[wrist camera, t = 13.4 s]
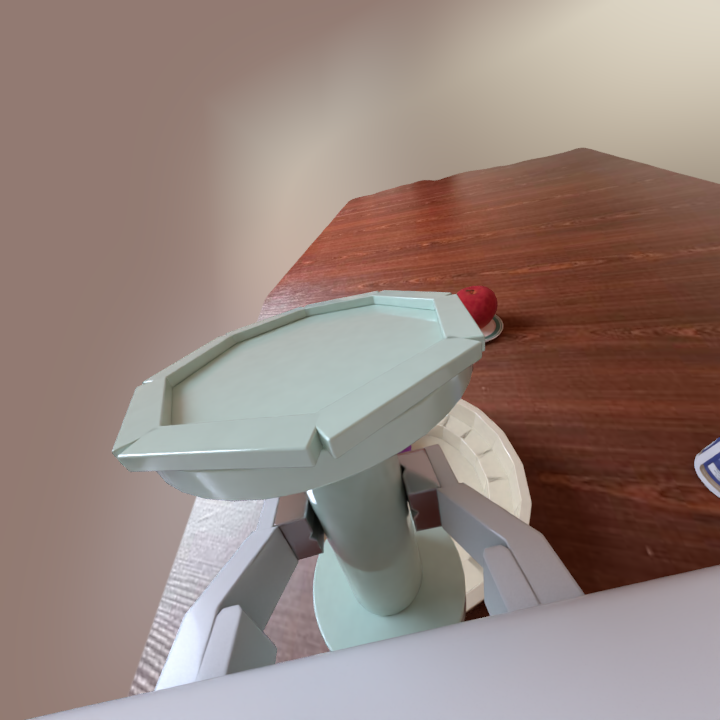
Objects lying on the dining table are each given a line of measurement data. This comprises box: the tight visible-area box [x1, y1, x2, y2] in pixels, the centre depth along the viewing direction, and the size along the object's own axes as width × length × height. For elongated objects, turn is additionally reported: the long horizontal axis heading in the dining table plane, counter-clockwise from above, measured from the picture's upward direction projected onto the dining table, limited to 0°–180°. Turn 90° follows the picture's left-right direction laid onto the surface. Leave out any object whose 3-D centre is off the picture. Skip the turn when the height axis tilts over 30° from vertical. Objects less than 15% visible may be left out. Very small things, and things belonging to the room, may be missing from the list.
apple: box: [457, 286, 503, 342], centre depth 36 cm, size 8×8×6 cm
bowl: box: [324, 399, 532, 614], centre depth 22 cm, size 16×16×6 cm
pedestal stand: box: [112, 290, 485, 651], centre depth 8 cm, size 7×7×11 cm
